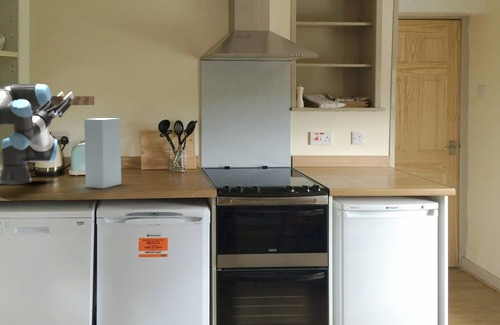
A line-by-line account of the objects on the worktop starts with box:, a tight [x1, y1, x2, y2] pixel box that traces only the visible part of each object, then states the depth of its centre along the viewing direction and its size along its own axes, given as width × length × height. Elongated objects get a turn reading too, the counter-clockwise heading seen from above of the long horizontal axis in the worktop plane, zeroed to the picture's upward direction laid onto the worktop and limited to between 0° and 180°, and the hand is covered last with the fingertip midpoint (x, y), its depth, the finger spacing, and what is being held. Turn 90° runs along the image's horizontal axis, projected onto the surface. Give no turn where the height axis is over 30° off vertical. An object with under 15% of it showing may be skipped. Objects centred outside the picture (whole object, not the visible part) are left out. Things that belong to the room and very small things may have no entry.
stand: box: [83, 117, 122, 189], centre depth 287 cm, size 16×10×33 cm, turn 161°
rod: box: [51, 95, 95, 106], centre depth 262 cm, size 26×4×4 cm, turn 161°
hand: (67, 94), depth 258 cm, fingers closed on rod, 4 cm apart
